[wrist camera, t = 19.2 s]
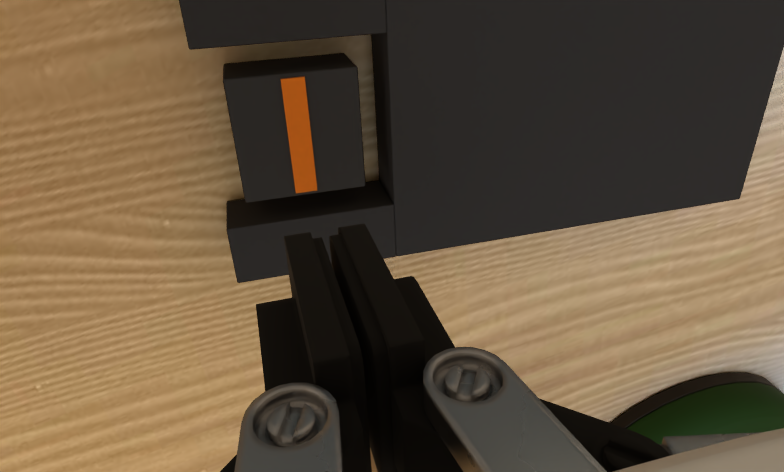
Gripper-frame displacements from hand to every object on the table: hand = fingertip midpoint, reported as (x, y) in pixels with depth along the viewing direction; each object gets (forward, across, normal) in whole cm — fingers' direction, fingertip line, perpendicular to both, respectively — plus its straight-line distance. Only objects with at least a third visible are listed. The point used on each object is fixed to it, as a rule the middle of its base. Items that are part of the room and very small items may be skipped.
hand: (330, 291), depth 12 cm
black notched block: (+17, -12, +1) cm, 21 cm away
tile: (+18, -1, +1) cm, 18 cm away
